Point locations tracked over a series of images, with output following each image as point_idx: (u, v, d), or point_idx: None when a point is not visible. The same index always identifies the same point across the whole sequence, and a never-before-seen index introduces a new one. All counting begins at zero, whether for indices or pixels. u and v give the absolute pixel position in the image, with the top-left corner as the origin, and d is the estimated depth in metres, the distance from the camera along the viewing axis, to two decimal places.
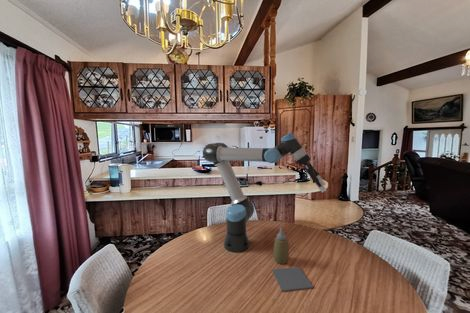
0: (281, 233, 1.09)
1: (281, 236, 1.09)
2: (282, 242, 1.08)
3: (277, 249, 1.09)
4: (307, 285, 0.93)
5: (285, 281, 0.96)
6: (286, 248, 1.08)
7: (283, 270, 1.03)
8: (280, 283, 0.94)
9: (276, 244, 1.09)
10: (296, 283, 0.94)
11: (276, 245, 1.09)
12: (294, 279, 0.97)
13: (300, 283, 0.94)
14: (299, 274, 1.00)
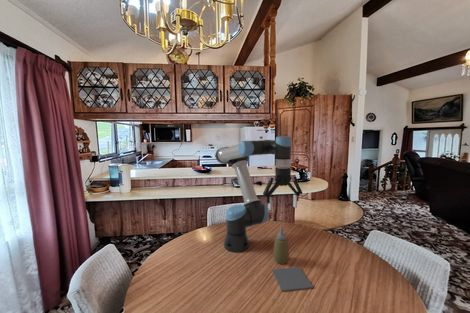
0: (281, 233, 1.09)
1: (281, 236, 1.09)
2: (282, 242, 1.08)
3: (277, 249, 1.09)
4: (307, 285, 0.93)
5: (285, 281, 0.96)
6: (286, 248, 1.08)
7: (283, 270, 1.03)
8: (280, 283, 0.94)
9: (276, 244, 1.09)
10: (296, 283, 0.94)
11: (276, 245, 1.09)
12: (294, 279, 0.97)
13: (300, 283, 0.94)
14: (299, 274, 1.00)
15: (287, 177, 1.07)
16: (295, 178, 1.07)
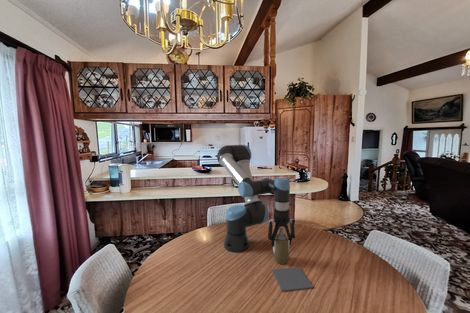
0: (281, 233, 1.09)
1: (281, 236, 1.09)
2: (282, 242, 1.08)
3: (277, 249, 1.09)
4: (307, 285, 0.93)
5: (285, 281, 0.96)
6: (286, 248, 1.08)
7: (283, 270, 1.03)
8: (280, 283, 0.94)
9: (276, 244, 1.09)
10: (296, 283, 0.94)
11: (276, 245, 1.09)
12: (294, 279, 0.97)
13: (300, 283, 0.94)
14: (299, 274, 1.00)
15: (286, 218, 1.09)
16: (293, 221, 1.09)
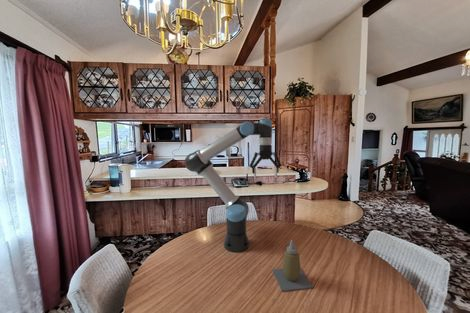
0: (292, 246, 0.96)
1: (292, 250, 0.95)
2: (293, 257, 0.94)
3: (287, 265, 0.95)
4: (307, 285, 0.93)
5: (285, 281, 0.96)
6: (297, 263, 0.94)
7: None
8: (280, 283, 0.94)
9: (286, 259, 0.95)
10: (296, 283, 0.94)
11: (286, 260, 0.95)
12: None
13: (300, 283, 0.94)
14: None
15: (269, 152, 1.32)
16: (275, 153, 1.32)
